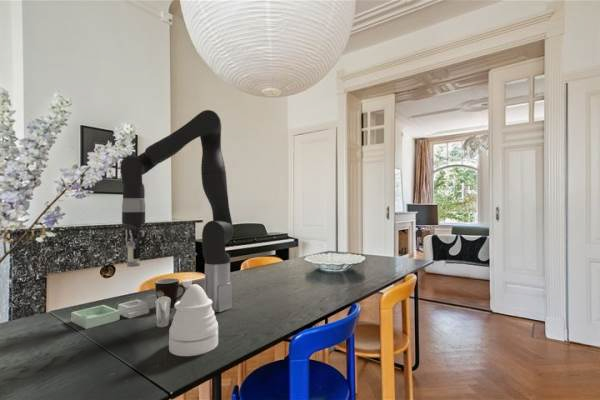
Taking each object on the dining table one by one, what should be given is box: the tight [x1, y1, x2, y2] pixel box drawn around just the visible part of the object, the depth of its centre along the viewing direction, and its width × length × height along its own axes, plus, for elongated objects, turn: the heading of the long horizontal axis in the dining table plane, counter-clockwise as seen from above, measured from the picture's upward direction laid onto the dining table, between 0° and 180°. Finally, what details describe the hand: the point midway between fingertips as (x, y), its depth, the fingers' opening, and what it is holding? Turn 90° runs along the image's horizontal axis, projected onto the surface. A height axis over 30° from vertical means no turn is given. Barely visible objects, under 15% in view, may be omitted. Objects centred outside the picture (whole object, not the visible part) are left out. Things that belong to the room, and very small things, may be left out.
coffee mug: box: [154, 277, 186, 310], centre depth 119 cm, size 12×9×10 cm
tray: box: [70, 304, 121, 330], centre depth 106 cm, size 12×10×3 cm
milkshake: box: [153, 296, 171, 328], centre depth 101 cm, size 4×5×10 cm
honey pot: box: [168, 278, 219, 357], centre depth 87 cm, size 13×13×18 cm
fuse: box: [126, 241, 141, 268], centre depth 114 cm, size 4×4×9 cm
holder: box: [116, 299, 150, 319], centre depth 113 cm, size 9×7×4 cm
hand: (133, 258), depth 114 cm, fingers closed on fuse, 3 cm apart
